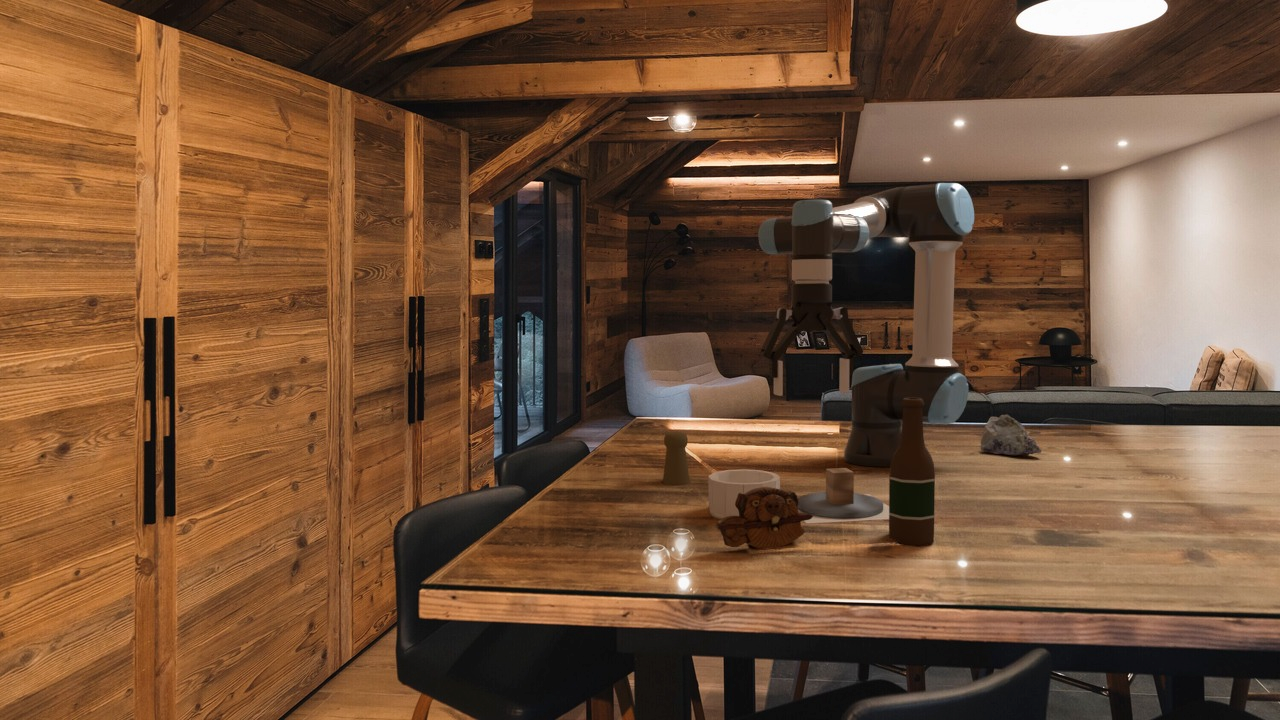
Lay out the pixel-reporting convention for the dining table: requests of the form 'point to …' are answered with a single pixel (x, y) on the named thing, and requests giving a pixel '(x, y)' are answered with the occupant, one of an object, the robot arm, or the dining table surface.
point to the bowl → (735, 488)
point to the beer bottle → (912, 482)
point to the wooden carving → (764, 519)
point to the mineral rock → (1007, 437)
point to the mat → (881, 516)
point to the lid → (840, 498)
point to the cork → (676, 459)
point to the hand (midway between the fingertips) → (811, 393)
